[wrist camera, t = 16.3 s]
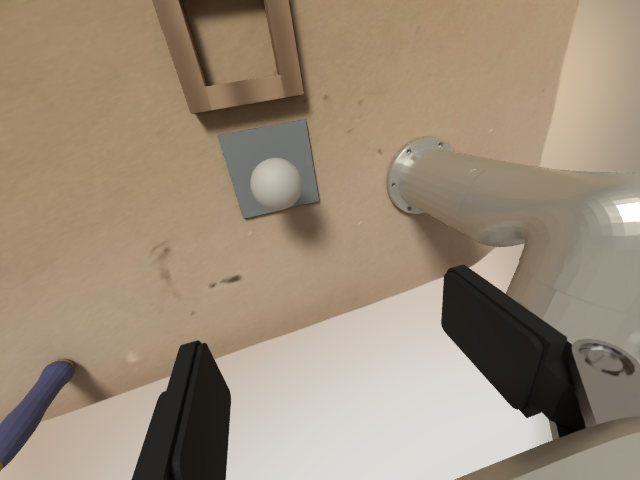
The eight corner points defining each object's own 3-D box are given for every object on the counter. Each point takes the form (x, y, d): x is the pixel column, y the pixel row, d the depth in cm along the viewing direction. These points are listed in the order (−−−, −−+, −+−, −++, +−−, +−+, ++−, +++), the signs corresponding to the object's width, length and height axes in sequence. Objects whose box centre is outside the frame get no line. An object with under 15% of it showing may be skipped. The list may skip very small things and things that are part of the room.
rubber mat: (304, 119, 38) (305, 119, 37) (318, 200, 43) (319, 201, 43) (218, 135, 36) (217, 135, 36) (243, 217, 42) (243, 218, 41)
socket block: (276, -45, 30) (279, -58, 28) (300, 95, 36) (303, 94, 34) (145, -32, 28) (137, -45, 26) (194, 113, 35) (191, 113, 32)
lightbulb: (285, 197, 41) (296, 223, 32) (245, 186, 39) (244, 209, 29) (298, 158, 39) (314, 172, 30) (256, 144, 37) (258, 154, 27)
